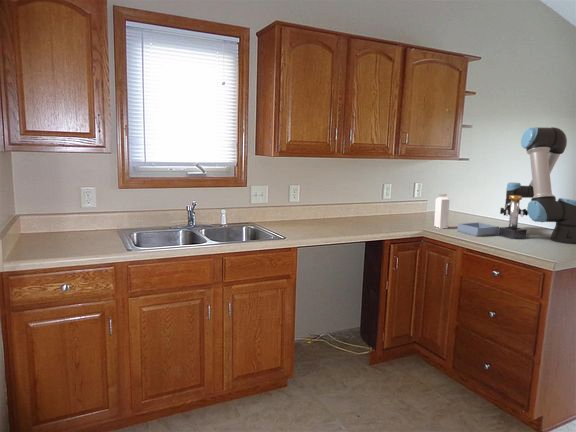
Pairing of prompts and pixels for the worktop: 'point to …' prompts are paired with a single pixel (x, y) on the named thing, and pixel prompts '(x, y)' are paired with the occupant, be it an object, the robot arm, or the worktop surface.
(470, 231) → the tray
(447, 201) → the milk
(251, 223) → the worktop surface
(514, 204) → the pin
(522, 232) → the hitch block
